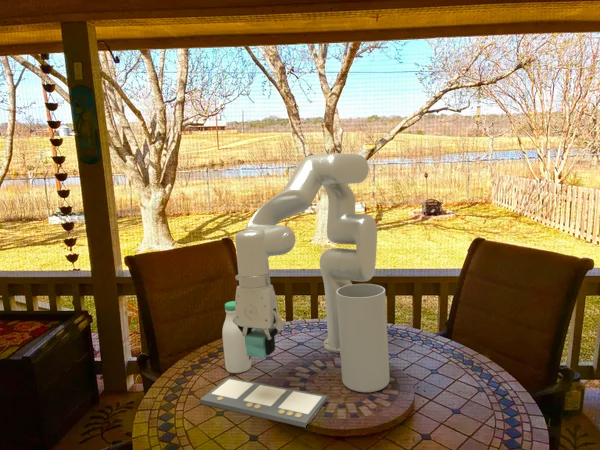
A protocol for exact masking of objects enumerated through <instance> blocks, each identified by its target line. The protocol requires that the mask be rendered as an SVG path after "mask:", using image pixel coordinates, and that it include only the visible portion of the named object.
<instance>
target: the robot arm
mask: <svg viewBox="0 0 600 450" xmlns="http://www.w3.org/2000/svg"><path fill="white" fill-rule="evenodd" d="M369 170H370V167H369V163H368V161H367V158H365V156H363V155H362V154H359V153H358V154H357V153H353V154H352V153H341V152H340V153H338V152H337V153H336V152H334V153H332V152H331V153H321V154H320V153H319V154H312V155H308V156H306V157H304V158H303V159H302V160H301V161H300V163H299V164H298V166H297V167H296V169H295V170H294V172H293V173H292V176H291V178H290V179H289V181H288V182H287V184H286V185H285V187H284V189H283V190H282V191H281V192H279V193H277V194H275V196H274V195H273V197H272V198H270V199H269V200H268V201H266V202H265V203H263V204H262V205H261V206H260V207H259V208H258V209H257V210H256V211H255V213H254V214H253V215H252V216H251V218H250V220H249V221H248V223H247V224H246V227H245V228H244V230H241V231H239V232H237V233H236V235H235V237H234V238H235V240H234V242H235V249H236V250H235V251H236V261H237V273H238V274H236V275H235V280H236V281H238V284H239V285H237V286H236V290H235V300H234V301H235V315H236V316H235V317H234V319H233V323H234V324H235V325H236V326H238V328H239V329H240V331H241V332H242V335H243V336H244V337H245V336H246V335H247V334H249V333H250V332H252V331H253V330H254V329H262V330H264V331H265V334H266V337H267V339H266V340H265V346H266V355H267V356H270V355H271V354H273V353H274V352H275V349H276V341H275V340H276V339H275V337H276V336H277V334H278V333H279V332H281V331H282V330H283V329H284V328H285V327H286V323H285V322H284V320H282V318H281V317H280V315H279V308H278V302H277V297H276V292H275V289H274V286H273V284H271V278H270V277H271V275H270V263H269V258H270V257H272V256H273V257H274V256H275V257H276V256H283V255H286V254H288V253H290V252H291V251H292V250H293V249H294V247H295V244H296V241H297V239H296V235H295V232H294V231H293V230H292V228H290V227H289V226H286V225H281V224H278V223H281V221H283V220H286V219H288V218H291V217H293V216H296V215H299V214H301V213H304V212H305V211H306V210H308V209H309V208H310V206H311V205H312V203H313V201H314V200H315V198H316V196H317V194H318V193H319V190H320V189H321V187H322V186H323V188H324V190H325V193H326V196H327V199H328V200H327V201H328V203H327V206H328V207H327V209H328V210H327V219H326V220H327V221H326V222H327V223H326V235H327V236H326V237H327V239H328V240H329V241H330V242H331V243H333V244H339V245H349V246H350V245H352V246H355V248H353V249H351V248H343V247H342V248H341V247H340V248H339V247H333V248H329V249H326V250H324V251H323V252H322V253H321V255H320V258H319V269H320V274H321V275H322V276H321V277H322V281H323V286H324V287H323V288H324V298H325V299H324V300H325V313H326V314H325V315H326V328H327V337H326V339H325V340H324V341H323V347H324V349H325V350H327V351H329V352H331V353H336V354H340V341H339V326H338V311H337V296H336V291H337V289H339V288H341V287H343V286H347V285H353V283H352V281H353V282H369V281H371V279H372V278H373V276H374V275H375V271H376V264H377V246H378V245H377V244H378V227H377V222H376V220H375V219H374V217H372V215H369V214H366V213H356V196H355V194H354V192H353V190H352V189H351V187H350V184H351V185H352V184H360V183H361V184H362V183H363V182H365V180H366V179H367V178H368V175H369ZM277 224H278V225H277ZM274 324H275V325H276V327H275V325H274ZM245 345H246V341H245Z"/></svg>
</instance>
